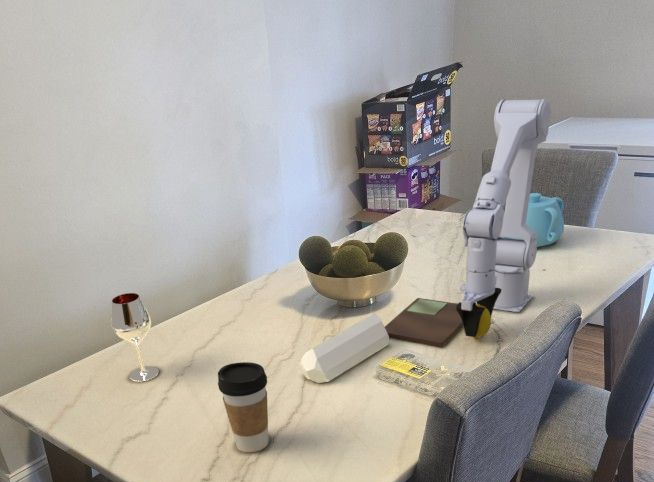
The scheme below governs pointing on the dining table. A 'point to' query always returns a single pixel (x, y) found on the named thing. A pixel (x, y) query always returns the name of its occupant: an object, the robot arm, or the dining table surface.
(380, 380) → the dining table surface
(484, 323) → the lemon
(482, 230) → the robot arm
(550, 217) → the decorative pot
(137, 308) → the wineglass
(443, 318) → the board
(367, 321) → the crystal
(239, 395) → the coffee cup
